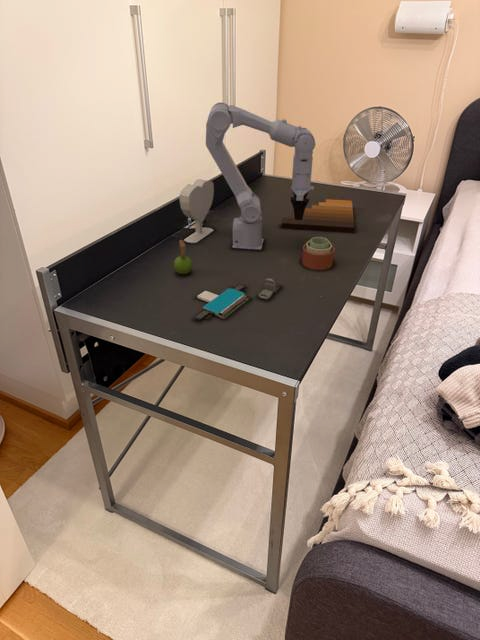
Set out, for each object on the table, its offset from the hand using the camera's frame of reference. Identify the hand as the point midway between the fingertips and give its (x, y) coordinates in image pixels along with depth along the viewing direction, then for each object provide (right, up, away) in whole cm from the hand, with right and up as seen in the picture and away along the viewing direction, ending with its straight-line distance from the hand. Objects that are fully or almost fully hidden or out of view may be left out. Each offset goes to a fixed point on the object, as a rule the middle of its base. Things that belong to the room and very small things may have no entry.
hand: (298, 215), depth 151 cm
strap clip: (-11, -26, -20) cm, 34 cm away
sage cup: (+5, -15, -5) cm, 17 cm away
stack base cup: (+5, -16, -5) cm, 17 cm away
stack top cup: (+5, -16, -5) cm, 17 cm away
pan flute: (+10, +5, +26) cm, 28 cm away
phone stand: (-25, -29, -24) cm, 45 cm away
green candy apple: (-35, -20, -11) cm, 42 cm away
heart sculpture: (-33, -4, +12) cm, 35 cm away
